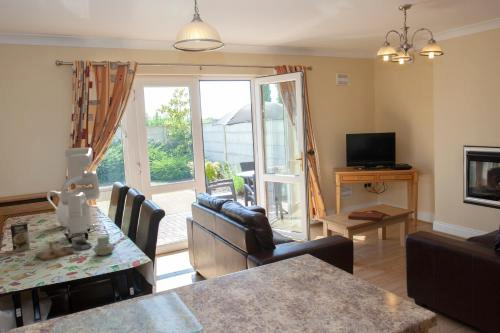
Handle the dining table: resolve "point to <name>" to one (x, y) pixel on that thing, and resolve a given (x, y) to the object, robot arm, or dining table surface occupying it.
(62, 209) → the pitcher
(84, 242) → the open ended gray sleeve
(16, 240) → the coffee box
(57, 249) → the board
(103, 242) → the air freshener
